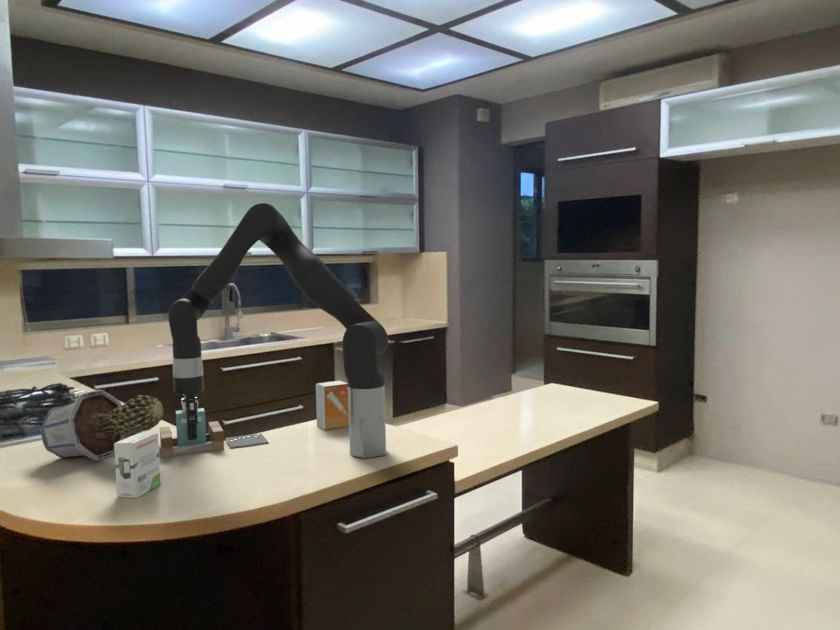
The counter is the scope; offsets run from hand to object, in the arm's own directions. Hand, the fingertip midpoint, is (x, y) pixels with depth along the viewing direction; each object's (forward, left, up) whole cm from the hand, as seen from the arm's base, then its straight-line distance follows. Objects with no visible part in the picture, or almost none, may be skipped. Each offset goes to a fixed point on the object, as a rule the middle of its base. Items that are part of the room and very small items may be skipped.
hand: (191, 436), depth 164 cm
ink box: (-29, +13, -3) cm, 32 cm away
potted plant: (+1, +20, -3) cm, 20 cm away
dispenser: (0, 0, -3) cm, 3 cm away
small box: (+3, -40, -3) cm, 40 cm away
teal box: (0, 0, -3) cm, 3 cm away
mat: (-1, -14, -3) cm, 14 cm away
